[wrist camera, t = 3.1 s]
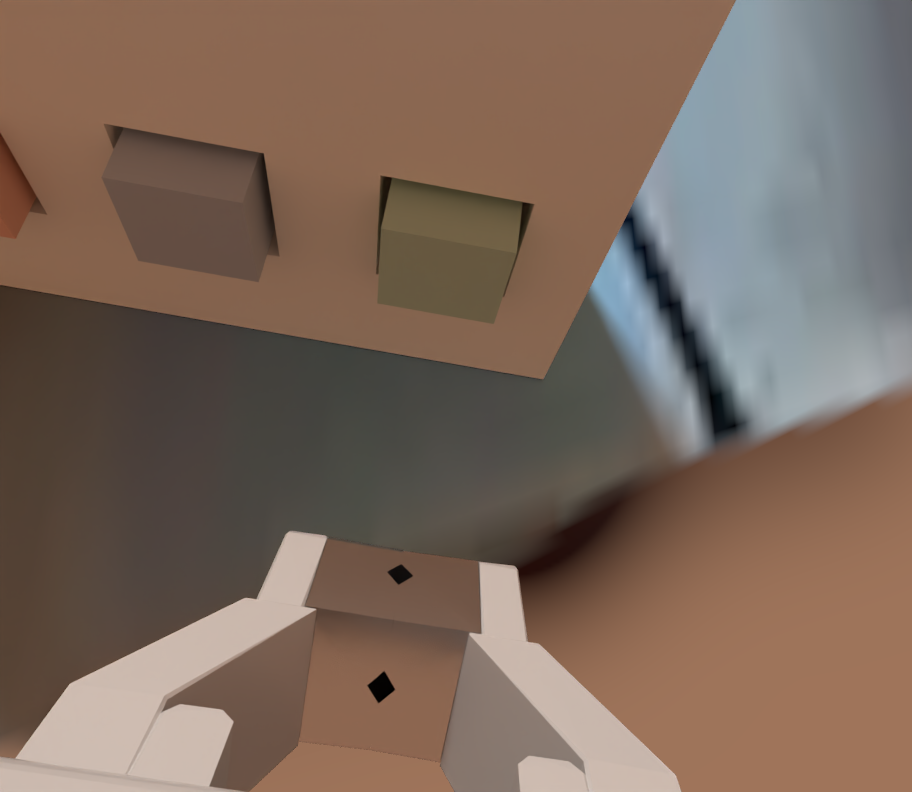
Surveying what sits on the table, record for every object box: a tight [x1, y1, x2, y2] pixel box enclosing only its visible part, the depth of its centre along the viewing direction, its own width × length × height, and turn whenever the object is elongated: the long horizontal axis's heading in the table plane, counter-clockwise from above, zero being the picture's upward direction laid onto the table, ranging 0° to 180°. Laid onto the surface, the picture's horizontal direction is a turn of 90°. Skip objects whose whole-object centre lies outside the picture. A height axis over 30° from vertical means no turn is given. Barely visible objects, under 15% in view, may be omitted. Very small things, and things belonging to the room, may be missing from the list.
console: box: [0, 0, 736, 379], centre depth 24 cm, size 26×8×18 cm, turn 83°
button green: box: [377, 178, 523, 324], centre depth 24 cm, size 4×2×4 cm, turn 83°
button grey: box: [101, 127, 275, 282], centre depth 23 cm, size 4×2×4 cm, turn 83°
